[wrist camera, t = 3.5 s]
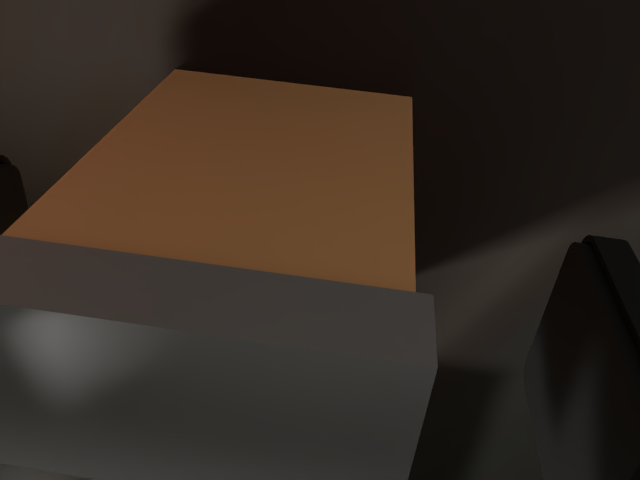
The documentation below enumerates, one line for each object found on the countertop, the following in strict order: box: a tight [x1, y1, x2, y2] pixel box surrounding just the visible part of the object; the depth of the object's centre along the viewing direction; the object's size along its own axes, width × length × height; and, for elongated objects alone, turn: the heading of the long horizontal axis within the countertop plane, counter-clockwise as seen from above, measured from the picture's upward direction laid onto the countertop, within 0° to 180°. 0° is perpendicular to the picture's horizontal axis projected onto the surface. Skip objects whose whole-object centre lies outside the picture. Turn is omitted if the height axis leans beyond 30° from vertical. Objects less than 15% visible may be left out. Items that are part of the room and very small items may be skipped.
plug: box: [0, 69, 438, 480], centre depth 9 cm, size 5×5×7 cm
